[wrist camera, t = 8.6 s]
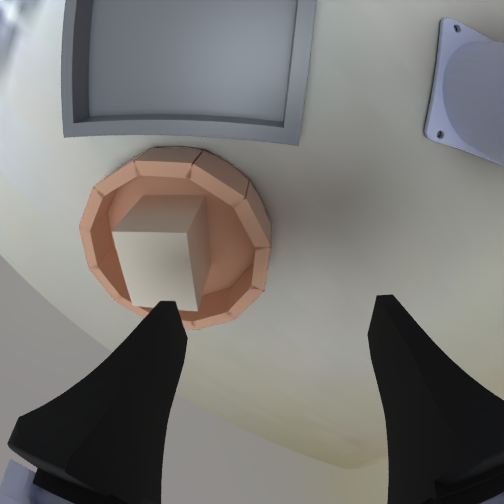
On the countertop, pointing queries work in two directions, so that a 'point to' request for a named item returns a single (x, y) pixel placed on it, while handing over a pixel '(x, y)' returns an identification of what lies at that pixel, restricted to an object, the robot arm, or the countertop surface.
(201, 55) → the parts tray
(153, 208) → the stone block
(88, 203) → the bowl
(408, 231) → the countertop surface
